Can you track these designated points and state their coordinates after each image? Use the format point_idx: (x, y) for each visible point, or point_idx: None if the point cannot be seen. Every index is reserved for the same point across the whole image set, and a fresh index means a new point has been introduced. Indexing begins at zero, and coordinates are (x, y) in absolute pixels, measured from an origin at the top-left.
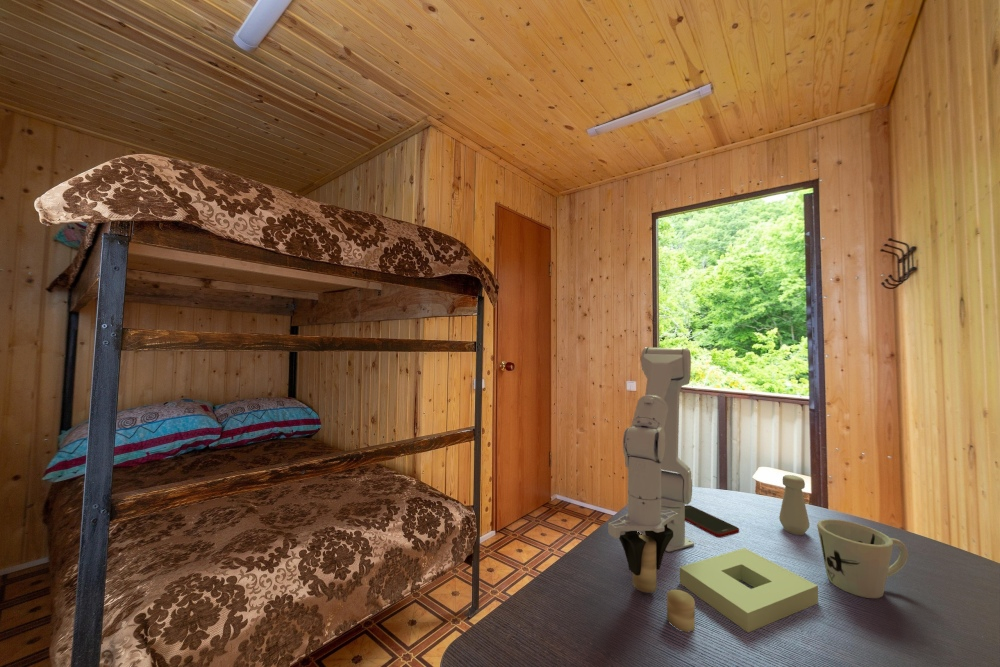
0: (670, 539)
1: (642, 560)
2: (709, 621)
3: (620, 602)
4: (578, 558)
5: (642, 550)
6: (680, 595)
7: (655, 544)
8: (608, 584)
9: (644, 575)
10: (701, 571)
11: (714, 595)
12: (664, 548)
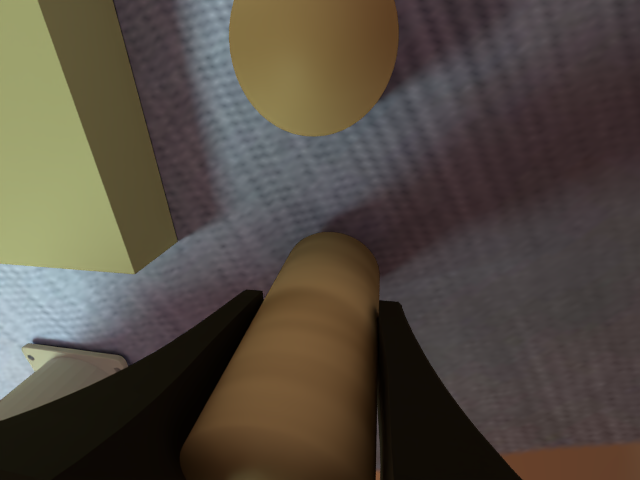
0: (35, 412)
1: (361, 355)
2: (204, 16)
3: (475, 256)
4: None
5: (399, 431)
6: (294, 66)
7: (216, 427)
8: (431, 339)
9: (359, 287)
10: (56, 214)
11: (86, 76)
12: (153, 363)
